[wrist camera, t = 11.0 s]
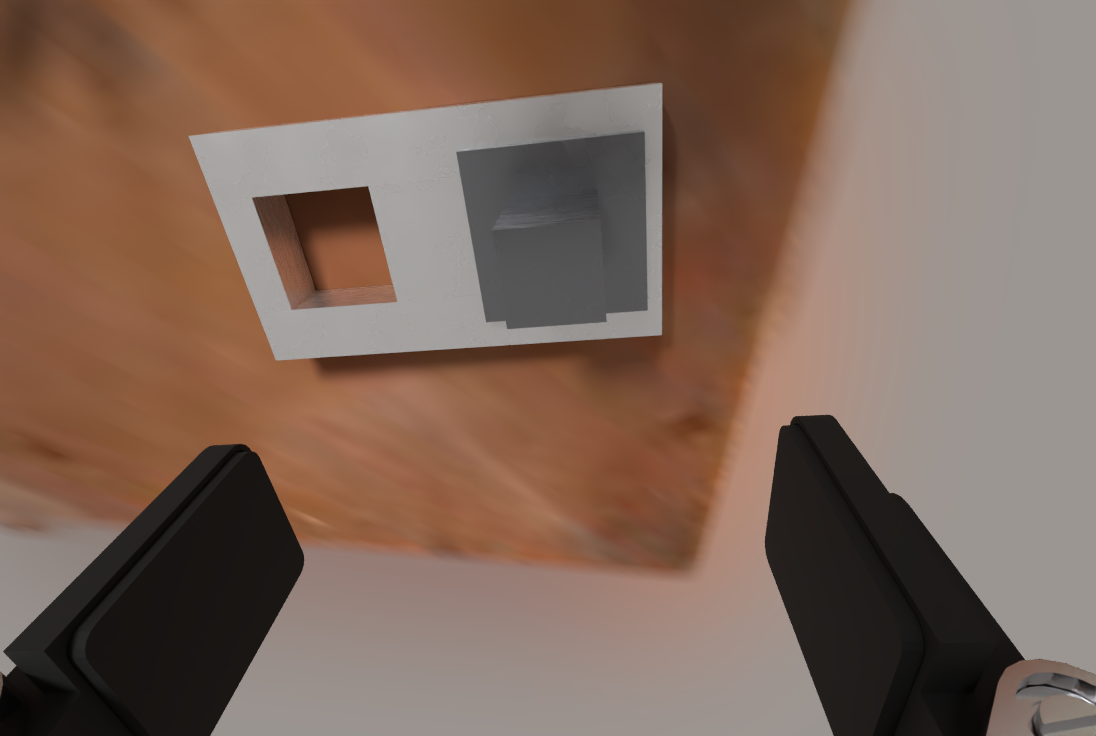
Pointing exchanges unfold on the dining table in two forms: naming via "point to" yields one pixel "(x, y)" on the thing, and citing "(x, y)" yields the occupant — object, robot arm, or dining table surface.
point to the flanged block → (558, 228)
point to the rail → (408, 219)
